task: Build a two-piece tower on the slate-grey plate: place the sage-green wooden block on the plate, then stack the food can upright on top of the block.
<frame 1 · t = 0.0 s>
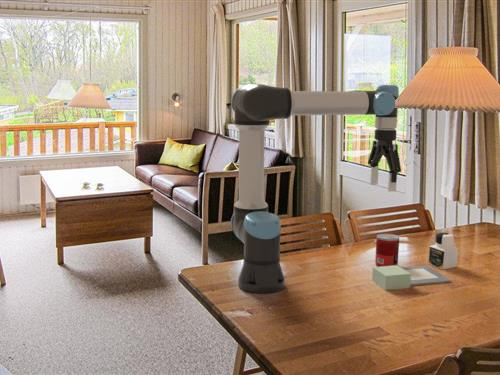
hand: (382, 187, 211), 28 cm above the table, tool pointing down, fingers open, 13 cm apart
canned food: (386, 266, 213), on the table
plate: (417, 276, 202), on the table
medicine bottle: (442, 266, 213), on the table
block: (390, 284, 194), on the table
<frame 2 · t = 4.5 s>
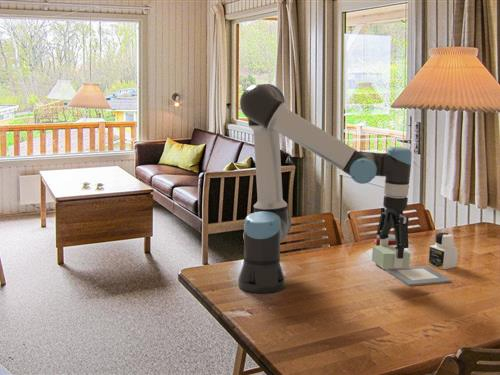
hand: (390, 262, 192), 7 cm above the table, tool pointing down, fingers closed on block, 9 cm apart
block: (390, 264, 193), point 7 cm above the table, touching gripper
everything else where it was.
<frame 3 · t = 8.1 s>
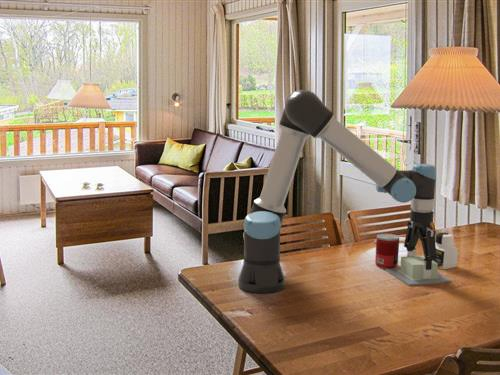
hand: (418, 273, 202), 1 cm above the table, tool pointing down, fingers closed on block, plate, 9 cm apart
block: (418, 274, 202), point 1 cm above the table, touching gripper, plate
everything else where it was.
when the fingers open (1 cm above the table, at t = 8.7 s): block stays where it is, resting on plate.
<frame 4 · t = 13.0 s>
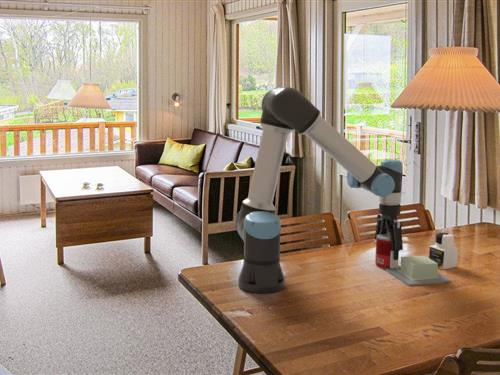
hand: (387, 263, 212), 1 cm above the table, tool pointing down, fingers open, 9 cm apart
block: (418, 274, 202), point 1 cm above the table, touching plate
everything else where it was.
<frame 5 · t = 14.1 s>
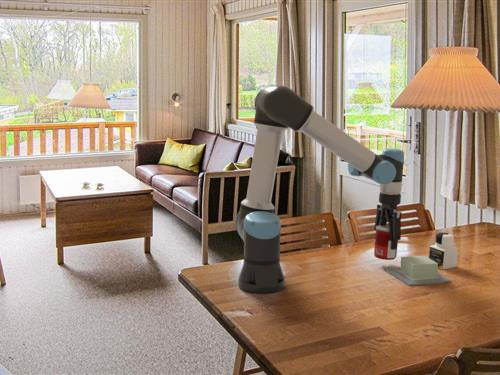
hand: (385, 254, 212), 4 cm above the table, tool pointing down, fingers closed on canned food, 8 cm apart
canned food: (385, 257, 212), point 3 cm above the table, touching gripper
everything else where it was.
when the fingers open (7 cm above the table, at t = 17.8 s): canned food stays where it is, resting on block.
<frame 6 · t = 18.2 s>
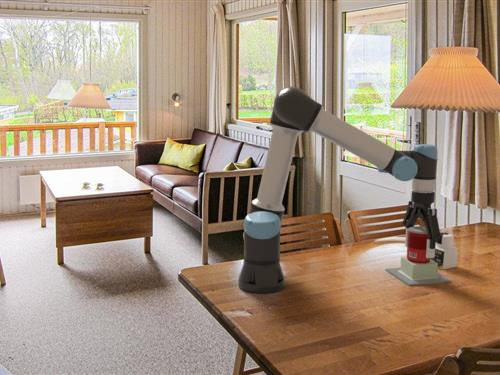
hand: (419, 251, 200), 9 cm above the table, tool pointing down, fingers open, 13 cm apart
canned food: (418, 260, 201), point 5 cm above the table, touching block
block: (418, 274, 202), point 1 cm above the table, touching canned food, plate
everything else where it was.
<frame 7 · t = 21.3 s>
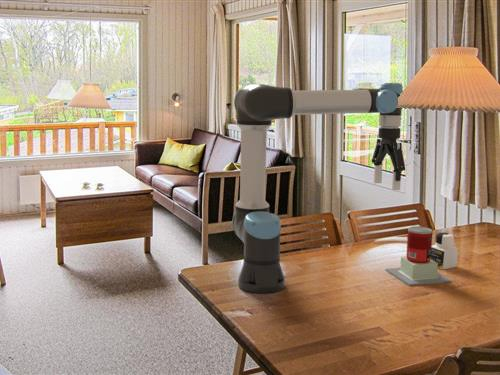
hand: (386, 186, 210), 29 cm above the table, tool pointing down, fingers open, 13 cm apart
nothing on the table moved.
at the end: block inside the target area on the plate (0.1 cm from its centre), point 0.7 cm above the plate's base; canned food 0.3 cm from the block (horizontally); canned food point 5.5 cm above the table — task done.
